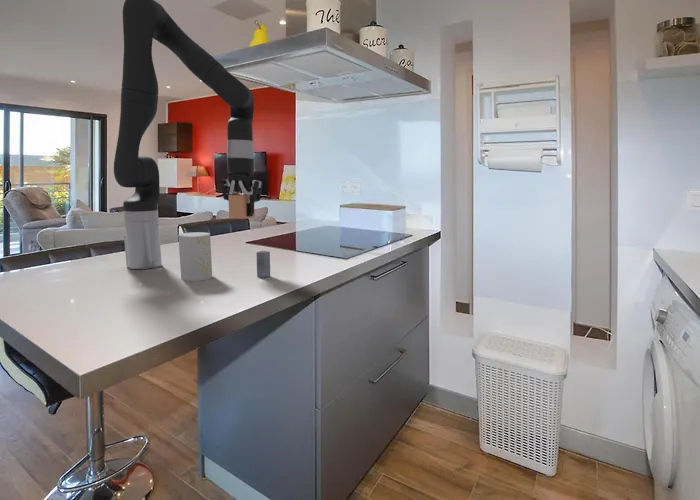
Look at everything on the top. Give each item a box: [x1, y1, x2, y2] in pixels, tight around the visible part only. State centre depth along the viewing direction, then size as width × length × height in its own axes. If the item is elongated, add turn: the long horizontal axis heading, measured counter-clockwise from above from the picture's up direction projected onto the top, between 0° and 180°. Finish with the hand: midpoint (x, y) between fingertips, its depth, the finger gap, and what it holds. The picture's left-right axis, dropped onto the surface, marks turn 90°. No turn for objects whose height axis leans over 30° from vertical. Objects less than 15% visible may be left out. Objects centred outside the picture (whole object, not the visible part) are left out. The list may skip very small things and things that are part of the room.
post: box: [255, 250, 271, 279], centre depth 118 cm, size 3×3×7 cm
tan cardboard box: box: [227, 194, 256, 220], centre depth 124 cm, size 5×5×7 cm
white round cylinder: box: [177, 231, 213, 282], centre depth 116 cm, size 8×8×12 cm
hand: (242, 215), depth 125 cm, fingers closed on tan cardboard box, 5 cm apart
